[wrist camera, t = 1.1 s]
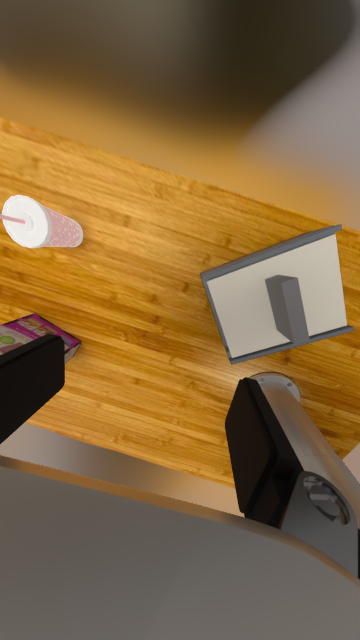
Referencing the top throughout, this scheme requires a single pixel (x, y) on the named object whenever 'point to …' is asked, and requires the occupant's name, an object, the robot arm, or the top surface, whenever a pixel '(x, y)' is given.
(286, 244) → the slate box
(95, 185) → the top surface
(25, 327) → the candy bar box
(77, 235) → the beverage cup
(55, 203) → the top surface
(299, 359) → the top surface
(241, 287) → the cover plate
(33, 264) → the top surface
